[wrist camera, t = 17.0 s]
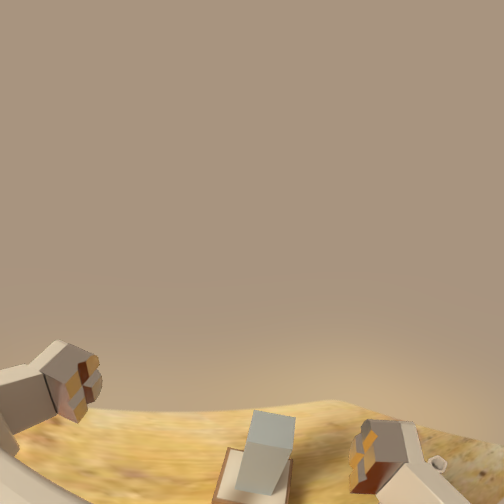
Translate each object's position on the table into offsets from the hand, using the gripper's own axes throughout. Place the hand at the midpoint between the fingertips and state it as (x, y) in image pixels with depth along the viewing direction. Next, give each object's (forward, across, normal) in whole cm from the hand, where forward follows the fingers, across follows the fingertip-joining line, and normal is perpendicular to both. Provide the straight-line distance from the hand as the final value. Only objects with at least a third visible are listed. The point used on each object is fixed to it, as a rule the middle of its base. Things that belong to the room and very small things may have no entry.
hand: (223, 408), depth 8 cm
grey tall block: (+13, -3, +26) cm, 30 cm away
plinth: (+13, -3, +30) cm, 32 cm away
